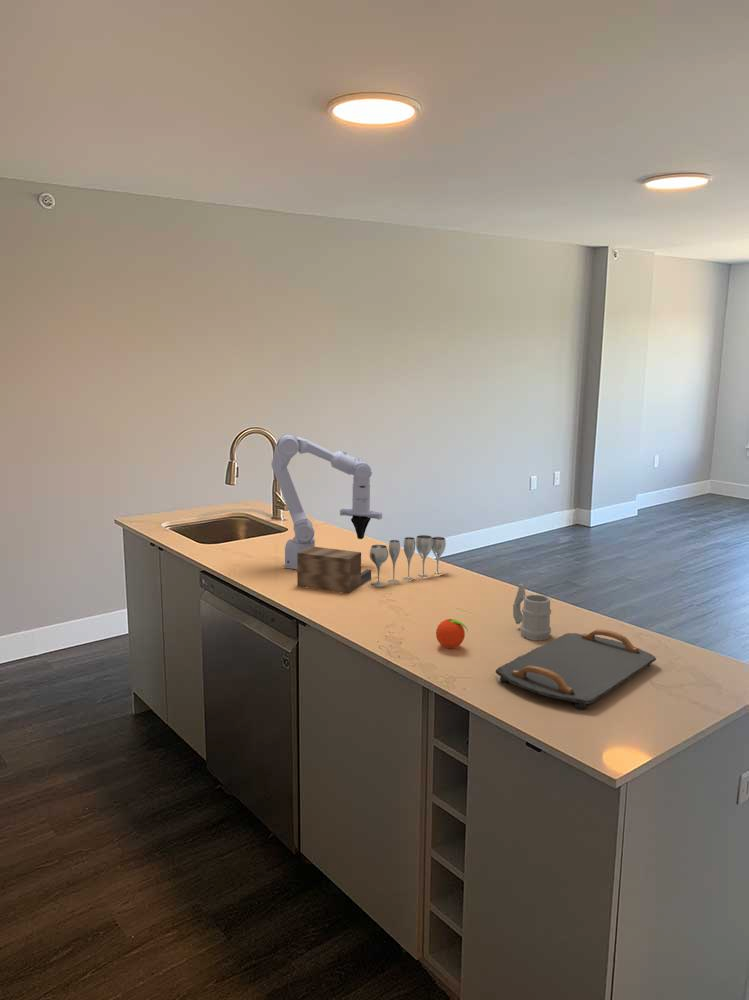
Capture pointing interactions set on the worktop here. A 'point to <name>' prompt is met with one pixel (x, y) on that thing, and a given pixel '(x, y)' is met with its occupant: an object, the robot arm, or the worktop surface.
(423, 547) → the goblet set
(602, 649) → the serving board
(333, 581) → the walnut shelf
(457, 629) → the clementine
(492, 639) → the worktop surface
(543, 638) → the mug
